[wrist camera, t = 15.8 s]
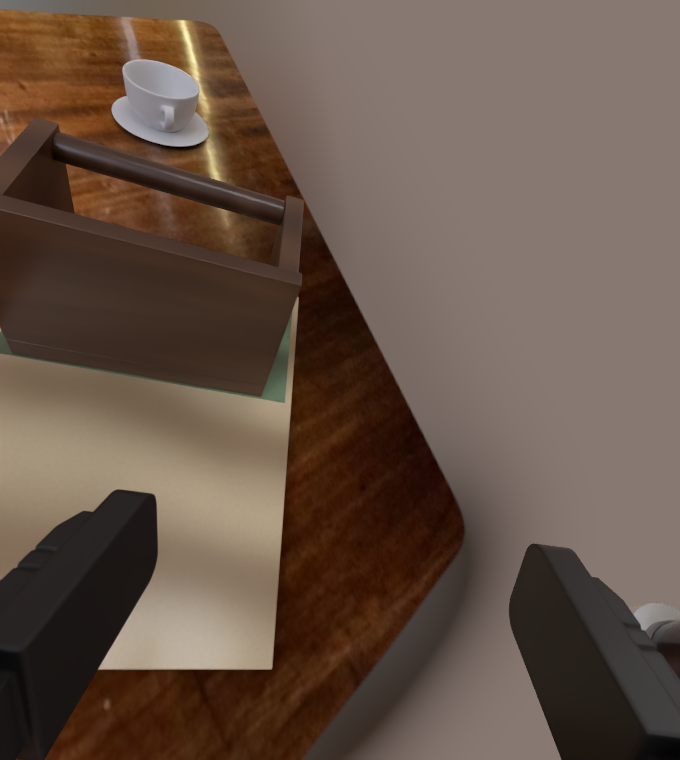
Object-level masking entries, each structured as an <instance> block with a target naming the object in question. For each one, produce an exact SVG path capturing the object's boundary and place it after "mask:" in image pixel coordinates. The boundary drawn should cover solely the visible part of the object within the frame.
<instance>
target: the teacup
mask: <svg viewBox="0 0 680 760" xmlns="http://www.w3.org/2000/svg"><path fill="white" fill-rule="evenodd" d="M123 77H124V82H125V88H126V93H127V96H125V97H122V98H120V99H118V100H117V101H115V102H114V104H113V106H112V114H113V116H114V118H115V120H116V121H117V122H118V123H119V124H120V125H121V126H122V127H123V128H125V129H126V130H127V131H129V132H131V133H132V134H134V135H136V136H138V137H140V138H143V139H145V140H148V141H151V142H154V143H158V144H162V145H168V146H191V145H196V144H199V143H201V142H202V141H204V140H205V139H206V138H207V136H208V134H209V129H208V126H207V124H206V122H205V121H204V120H203V118H202V117H201V116H200V115H198V114H197V113H196V112H195V111H196V107H197V101H198V96H199V86H198V84H197V82H196V81H195V80H194V79H193V78H192V77H191V76H190V75H188V74H187V73H185V72H184V71H182V70H180V69H178V68H176V67H174V66H171V65H168V64H165V63H162V62H158V61H153V60H133V61H129V62H127V63H126V64H125V65H124V66H123Z"/></svg>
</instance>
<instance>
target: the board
mask: <svg viewBox="0 0 680 760" xmlns="http://www.w3.org/2000/svg"><path fill="white" fill-rule="evenodd" d="M298 302H299V297H297V299H296V302H295V305H294V308H293V310H292V313H291V316H290V319H289V322H288V324H287V327H286V330H285V333H284V335H283V338H282V341H281V344H280V346H279V349H278V352H277V355H276V358H275V360H274V363H273V366H272V369H271V371H270V374H269V377H268V380H267V383H266V385H265V388H264V391H263V394H262V396H261V397H259V396H253V395H247V394H242V393H236V392H230V391H224V390H219V389H213V388H207V387H201V386H196V385H190V384H184V383H179V382H173V381H167V380H161V379H156V378H150V377H144V376H138V375H133V374H127V373H121V372H115V371H110V370H104V369H98V368H92V367H87V366H81V365H75V364H69V363H64V362H58V361H52V360H46V359H41V358H35V357H29V356H24V355H18V354H12V352H11V350H10V348H9V346H8V344H7V341H6V339H5V337H4V335H3V333H2V330H1V328H0V580H1V579H3V578H4V577H5V576H6V575H7V574H8V573H9V572H10V571H11V570H12V569H13V568H17V566H18V563H19V562H20V561H21V560H22V559H23V558H24V557H25V556H26V555H27V554H28V553H29V552H30V551H31V550H35V548H36V545H37V544H38V543H39V542H40V541H41V540H42V539H43V538H44V537H45V536H47V535H48V534H49V533H50V532H51V531H52V530H53V529H54V528H55V527H56V526H57V525H59V524H61V523H62V522H64V521H66V520H68V519H69V518H71V517H73V516H75V515H76V514H78V513H80V512H82V511H91V512H93V511H94V510H95V509H96V508H97V507H98V506H99V505H100V504H101V503H102V502H103V501H104V500H105V499H106V498H107V497H108V495H109V494H110V493H111V492H113V491H114V490H116V489H121V490H129V491H137V492H145V493H152V494H154V495H155V497H156V501H157V530H158V557H157V563H156V567H155V570H154V573H153V576H152V578H151V580H150V582H149V584H148V586H147V587H146V589H145V591H144V592H143V594H142V596H141V598H140V599H139V601H138V603H137V604H136V606H135V608H134V609H133V611H132V613H131V614H130V616H129V618H128V619H127V621H126V623H125V624H124V626H123V628H122V629H121V631H120V633H119V635H118V636H117V638H116V640H115V641H114V643H113V645H112V646H111V648H110V650H109V651H108V653H107V655H106V656H105V658H104V660H103V661H102V663H101V665H100V667H99V668H98V670H271V669H272V665H273V651H274V637H275V623H276V609H277V595H278V581H279V567H280V553H281V539H282V525H283V511H284V497H285V483H286V469H287V455H288V441H289V428H290V414H291V400H292V386H293V372H294V358H295V344H296V330H297V316H298Z"/></svg>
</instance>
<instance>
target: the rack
mask: <svg viewBox="0 0 680 760" xmlns="http://www.w3.org/2000/svg"><path fill="white" fill-rule="evenodd" d="M66 164H69V165H72V166H76V167H79V168H83V169H86V170H90V171H93V172H96V173H100V174H103V175H107V176H110V177H114V178H117V179H121V180H124V181H128V182H131V183H135V184H138V185H141V186H145V187H148V188H152V189H155V190H159V191H162V192H166V193H169V194H173V195H176V196H180V197H183V198H187V199H190V200H193V201H197V202H200V203H204V204H207V205H211V206H214V207H218V208H221V209H225V210H228V211H232V212H235V213H238V214H242V215H245V216H249V217H252V218H256V219H259V220H263V221H266V222H270V223H273V224H277V225H279V227H278V230H277V234H276V238H275V242H274V246H273V249H272V253H271V257H270V261H269V265H268V264H264V263H260V262H257V261H253V260H249V259H245V258H241V257H237V256H234V255H230V254H226V253H222V252H218V251H214V250H211V249H207V248H203V247H199V246H195V245H191V244H188V243H184V242H180V241H176V240H172V239H168V238H165V237H161V236H157V235H153V234H149V233H145V232H142V231H138V230H134V229H130V228H126V227H123V226H119V225H115V224H111V223H107V222H103V221H100V220H96V219H92V218H88V217H84V216H80V215H77V214H75V213H74V208H73V202H72V197H71V191H70V186H69V180H68V175H67V169H66ZM303 204H304V201H303V200H300V199H297V198H294V197H291V196H286V200H285V201H283V200H280V199H277V198H273V197H270V196H267V195H263V194H260V193H257V192H254V191H250V190H247V189H244V188H241V187H237V186H234V185H231V184H228V183H224V182H221V181H218V180H214V179H211V178H208V177H205V176H201V175H198V174H195V173H192V172H188V171H185V170H182V169H178V168H175V167H172V166H169V165H165V164H162V163H159V162H156V161H152V160H149V159H146V158H143V157H139V156H136V155H133V154H129V153H126V152H123V151H120V150H116V149H113V148H110V147H107V146H103V145H100V144H97V143H93V142H90V141H87V140H84V139H80V138H77V137H74V136H71V135H67V134H64V133H61V132H60V130H59V125H58V124H56V123H53V122H50V121H46V120H43V119H40V118H37V117H35V118H34V119H33V121H32V122H31V123H30V124H29V125H28V126H27V127H26V128H25V130H24V131H23V132H22V133H21V134H20V135H19V136H18V137H17V139H16V140H15V141H14V142H13V143H12V144H11V145H10V146H9V148H8V149H7V150H6V151H5V152H4V153H3V154H2V155H1V157H0V328H1V330H2V333H3V335H4V337H5V339H6V341H7V344H8V346H9V348H10V350H11V352H12V354H18V355H24V356H29V357H35V358H41V359H46V360H52V361H58V362H64V363H69V364H75V365H81V366H87V367H92V368H98V369H104V370H110V371H115V372H121V373H127V374H133V375H138V376H144V377H150V378H156V379H161V380H167V381H173V382H179V383H184V384H190V385H196V386H201V387H207V388H213V389H219V390H224V391H230V392H236V393H242V394H247V395H253V396H259V397H261V396H262V394H263V391H264V388H265V385H266V383H267V380H268V377H269V374H270V371H271V369H272V366H273V363H274V360H275V358H276V355H277V352H278V349H279V346H280V344H281V341H282V338H283V335H284V333H285V330H286V327H287V324H288V322H289V319H290V316H291V313H292V310H293V308H294V305H295V302H296V299H297V297H298V294H299V291H300V288H301V284H302V273H299V259H300V245H301V232H302V218H303Z"/></svg>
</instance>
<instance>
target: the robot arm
mask: <svg viewBox="0 0 680 760" xmlns="http://www.w3.org/2000/svg"><path fill="white" fill-rule="evenodd" d="M157 557H158V530H157V501H156V497H155V495H154V494H152V493H145V492H137V491H129V490H121V489H116V490H114V491H113V492H111V493H110V494H109V495H108V497H107V498H106V499H105V500H104V501H103V502H102V503H101V504H100V505H99V506H98V507H97V508H96V509H95V510H94V511H93V512H91V511H82V512H80V513H78V514H76V515H75V516H73V517H71V518H69V519H68V520H66V521H64V522H62V523H61V524H59V525H57V526H56V527H55V528H54V529H53V530H52V531H51V532H50V533H49V534H48V535H47V536H45V537H44V538H43V539H42V540H41V541H40V542H39V543H38V544H37V545H36V548H35V550H31V551H30V552H29V553H28V554H27V555H26V556H25V557H24V558H23V559H22V560H21V561H20V562H19V563H18V566H17V568H13V569H12V570H11V571H10V572H9V573H8V574H7V575H6V576H5V577H4V578H3V579H1V580H0V760H15V759H23V760H44V759H45V757H46V756H47V754H48V752H49V751H50V749H51V747H52V746H53V744H54V742H55V741H56V739H57V737H58V735H59V734H60V732H61V730H62V729H63V727H64V725H65V724H66V722H67V720H68V719H69V717H70V715H71V714H72V712H73V710H74V709H75V707H76V705H77V704H78V702H79V700H80V698H81V697H82V695H83V693H84V692H85V690H86V688H87V687H88V685H89V683H90V682H91V680H92V678H93V677H94V675H95V673H96V672H97V670H98V668H99V667H100V665H101V663H102V661H103V660H104V658H105V656H106V655H107V653H108V651H109V650H110V648H111V646H112V645H113V643H114V641H115V640H116V638H117V636H118V635H119V633H120V631H121V629H122V628H123V626H124V624H125V623H126V621H127V619H128V618H129V616H130V614H131V613H132V611H133V609H134V608H135V606H136V604H137V603H138V601H139V599H140V598H141V596H142V594H143V592H144V591H145V589H146V587H147V586H148V584H149V582H150V580H151V578H152V576H153V573H154V570H155V567H156V563H157ZM509 617H510V624H511V628H512V631H513V634H514V637H515V639H516V642H517V644H518V647H519V650H520V652H521V655H522V658H523V660H524V663H525V665H526V668H527V670H528V673H529V676H530V678H531V681H532V683H533V686H534V689H535V691H536V694H537V697H538V699H539V702H540V704H541V707H542V710H543V712H544V715H545V717H546V720H547V722H548V725H549V728H550V731H551V733H552V736H553V738H554V741H555V743H556V746H557V749H558V751H559V754H560V757H561V759H562V760H680V621H676V620H667V621H659V622H656V623H654V624H652V625H651V626H650V627H648V629H647V630H646V631H645V630H641V625H640V623H639V622H638V620H637V619H636V618H635V616H634V615H633V613H632V612H631V611H630V609H629V608H628V606H627V605H626V604H625V602H624V601H623V600H622V599H621V598H620V597H619V596H618V595H617V594H616V593H614V592H613V591H612V590H611V589H610V588H609V587H608V586H607V585H605V584H604V583H603V582H602V581H601V580H600V579H599V578H595V577H591V576H590V574H589V573H588V571H587V570H586V568H585V567H584V565H583V564H582V562H581V561H580V559H579V558H578V556H577V555H576V554H575V552H574V551H573V550H571V549H570V548H564V547H556V546H548V545H540V544H531V545H530V546H529V547H528V548H527V551H526V553H525V556H524V559H523V562H522V565H521V568H520V571H519V574H518V577H517V580H516V583H515V586H514V589H513V592H512V595H511V598H510V603H509Z"/></svg>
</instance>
